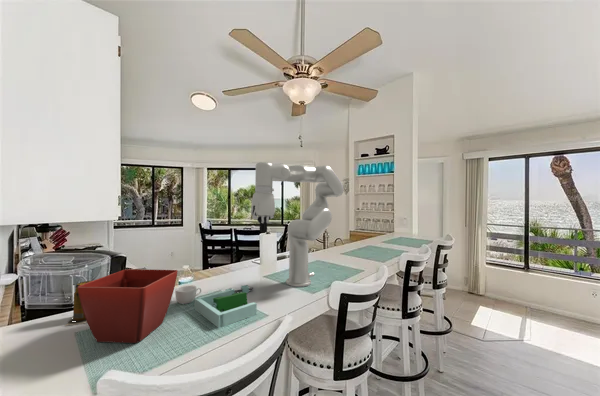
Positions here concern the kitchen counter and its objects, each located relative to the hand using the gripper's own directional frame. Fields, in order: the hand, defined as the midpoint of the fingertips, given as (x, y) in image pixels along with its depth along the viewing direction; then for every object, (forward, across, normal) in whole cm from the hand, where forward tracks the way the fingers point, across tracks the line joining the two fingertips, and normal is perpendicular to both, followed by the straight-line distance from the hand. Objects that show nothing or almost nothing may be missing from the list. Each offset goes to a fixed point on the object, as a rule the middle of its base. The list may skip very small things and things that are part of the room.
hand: (263, 231), depth 114 cm
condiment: (+27, +59, -21) cm, 68 cm away
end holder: (+27, +21, +6) cm, 35 cm away
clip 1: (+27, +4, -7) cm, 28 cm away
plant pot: (+27, +49, 0) cm, 56 cm away
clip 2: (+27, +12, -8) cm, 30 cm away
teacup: (+27, +27, -13) cm, 41 cm away
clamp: (+27, +19, +6) cm, 34 cm away
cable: (+27, +13, -6) cm, 30 cm away
